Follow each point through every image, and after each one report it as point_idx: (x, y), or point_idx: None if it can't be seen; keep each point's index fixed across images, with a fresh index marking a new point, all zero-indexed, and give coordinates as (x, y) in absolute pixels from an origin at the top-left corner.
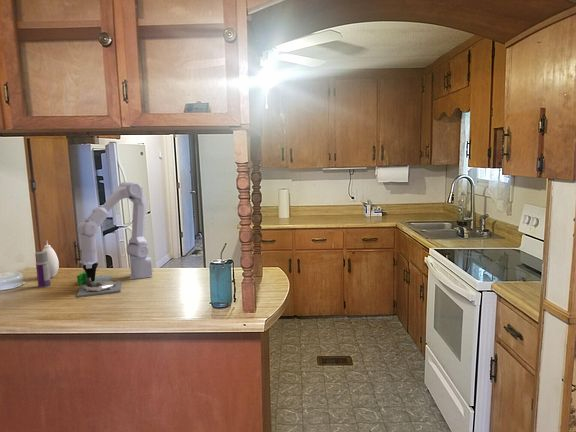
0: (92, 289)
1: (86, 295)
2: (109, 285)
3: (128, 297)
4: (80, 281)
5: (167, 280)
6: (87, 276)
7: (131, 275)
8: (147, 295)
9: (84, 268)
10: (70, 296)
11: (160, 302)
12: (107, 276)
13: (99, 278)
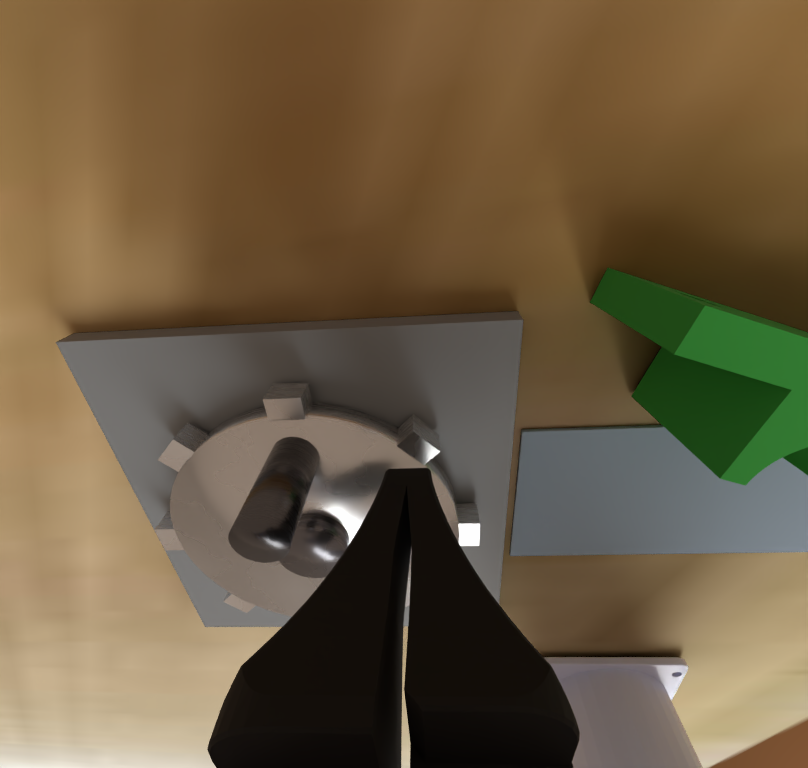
0: (175, 488)
1: (109, 421)
2: (270, 598)
3: (85, 642)
4: (620, 320)
5: (403, 763)
6: (363, 522)
7: (597, 681)
8: (124, 701)
9: (237, 690)
10: (120, 248)
11: (6, 727)
12: (806, 525)
13: (785, 466)
